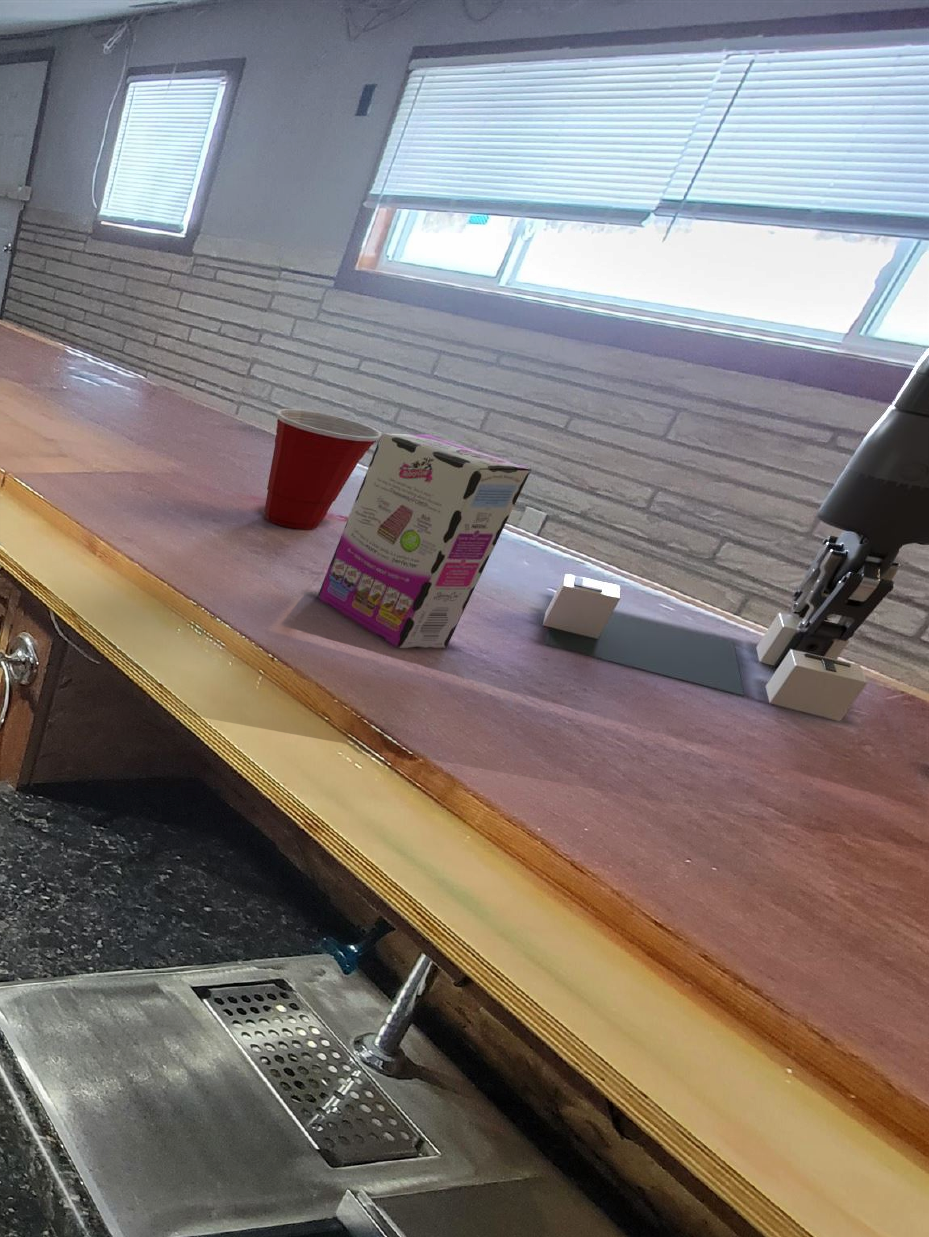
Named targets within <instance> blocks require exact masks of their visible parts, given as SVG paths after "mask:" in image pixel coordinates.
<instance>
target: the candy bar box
mask: <svg viewBox="0 0 929 1237" xmlns="http://www.w3.org/2000/svg"><path fill="white" fill-rule="evenodd" d="M532 470H533V469H531V468H529V467H527V466H523V465H521V464H516V463H514V462H511V461H509V460H506V459H503V458H500V457H498V456H494V455H492V454H488V453H485V452H481V451H479V450H476V449H473V448H469V447H467V446H464V445H461V444H458V443H454V442H451V441H448V440H445V439H442V438H439V437H436V436H433V435H430V434H423V433H422V434H421V433H382V434H381V436H380V439H379V440H378V442H377V444H376V448H375V449H374V451H373V455H372V457H371V459H370V462H369V464H368V466H367V470H366V473H365V475H364V477H363V480H362V482H361V484H360V488H359V490H358V492H357V496H356V498H355V500H354V502H353V505H352V507H351V510H350V513H349V515H348V518H347V521H346V523H345V526H344V528H343V530H342V532H341V535H340V539H339V540H338V544H337V545H336V548H335V551H334V554H333V556H332V559H331V561H330V563H329V566H328V569H327V571H326V572H325V573H326V574H325V576H324V578H323V582H322V584H321V585H320V586H321V587H320V589H319V592H318V594H317V596H316V597H317V598H318V599H320V600H321V601H323V602H324V603H325V604H327V605H329V606H331V607H332V608H334V609H336V610H337V611H339V612H341V614H343V615H345V616H347V617H348V618H350V619H352V620H353V621H355V622H356V623H358V624H360V625H361V626H363V627H365V628H366V629H368V630H370V631H371V632H373V633H374V634H376V635H377V636H379V637H381V638H382V639H383V640H385V641H388V643H390V644H392V645H393V646H394V647H395V646H396V647H397V648H398V649H413V648H414V649H423V648H425V649H429V648H431V649H432V648H435V649H436V648H437V649H438V648H439V649H441V648H447V647H448V645H449V643H450V641H451V640H452V637H453V636H454V632H455V630H456V629H457V627H458V625H459V623H460V620H461V617H462V616H463V613H464V611H465V610H466V608H467V606H468V603H469V602H470V599H471V597H472V595H473V593H474V590H475V588H476V585H477V584H478V583H479V580H480V578H481V576H482V574H483V571H484V570H485V568H486V565H487V563H488V561H489V559H490V556H491V555H492V553H493V551H494V549H495V547H496V545H497V543H498V540H499V538H500V536H501V534H502V532H503V530H504V528H505V526H506V525H507V521H508V520H509V518H510V516H511V513H512V511H513V509H514V507H515V505H516V502H517V501H518V498H519V497H520V494H521V493H522V490H523V488H524V486H525V485H526V482H527V480H528V478H529V475H530V473H531V472H532Z"/></svg>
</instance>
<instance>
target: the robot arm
mask: <svg viewBox="0 0 929 1237" xmlns="http://www.w3.org/2000/svg"><path fill="white" fill-rule="evenodd" d="M816 514H817V518H818V519H819V520H820V521H821V522H822V523H824V524H826V525H828V526H830V527H833V528H834V529H839V530H842V533H840V535H839V536H835V535H828V536H827V537H826V538H824V539H823V541H822V542H821V547H820V549H819V550H818V551H817V553H816V555H815V557H814V559H813V561H812V563H811V564H810V566H809V568H808V570H807V572H805V575H804V577H803V579H802V580H801V582H800V584H799V586H798V588H797V589H796V590H795V591H794V592H793V594H792V601H793V603H792V604H791V606H790V614H791V615H792V616H797V617H801V618H803V620H802V622H800V623H799V624H798V626H797V628H798V629H797V632H796V633H795V635H794V636H793V638H792V639H791V641H790V642H789V644H788V645H787V646H786V648H785V649H784V651H783V652H782V654H781V655H780V657H779V658H778V660H777V661H776V663H775V664H774V665H773V667H774V669H776V670H777V669H778V667H779V666H780V664H781V663H782V661H783V660H784V658H785V657H786V655H787V654H788V652H789V651H790V650H791V649H792V650H797V651H801V652H805V653H810V654H814V655H818V656H822V657H824V656H825V654H826V653H827V651H828V650H829V649H830V647H831V646H832V644H833V643H834V641H837V642H838V641H840V640H842V641H847V640H849V639H851V638H852V637H853V636H854V635H855V632H857V630H858V629H859V628H860V627H861V625H862V624H864V622H865V621H866V620H867V618H868V617H869V616H870V615H871V614H872V613H873V612H874V610H875V609H876V608H877V607H878V605H879V604H881V602H882V601H883V600H884V598H886V596H888V594H889V593H890V592H892V591H893V589H894V587H895V586H894V584H895V581H894V580H893V579H894V578H895V576H896V574H897V573H898V570H899V569H900V567H901V563H900V562H897V561H895V560H896V558H897V556H898V554H899V553H900V549H902V548H903V547H904V546H906V545H910V544H911V545H912V544H916V545H921V546H929V348H928V349H926V351H925V352H924V354H923V355H922V356H921V357H920V359H919V360H918V362H917V363H916V365H915V366H914V368H913V370H912V371H911V372H910V374H909V376H908V377H907V379H906V380H905V382H904V383H903V385H902V386H901V388H900V390H899V391H898V393H897V395H896V396H895V398H894V399H893V401H892V402H891V405H889V407H888V408H887V410H886V411H885V412H884V414H882V416H881V417H880V418H879V419H878V420H877V421H876V423H875V424H874V425H873V426H872V427H871V428H870V430H869V431H868V432H867V434H866V435H865V437H864V438H863V440H862V441H861V443H860V444H859V446H858V447H857V449H856V450H855V452H854V454H853V455H852V457H851V458H850V460H849V461H848V463H847V464H846V466H845V468H844V469H843V471H842V473H841V474H840V476H838V479H837V480H836V482H835V483H834V485H833V487H832V488H831V490H830V491H829V492H828V494H827V496H826V498H825V499H824V500H823V502H822V503H821V505H820V506H819V509H818V510H817V513H816ZM836 616H840V618H839V620H838V622H837V623H836V622H831V621H832V620H833V619H835V618H836Z"/></svg>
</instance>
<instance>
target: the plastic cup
mask: <svg viewBox="0 0 929 1237" xmlns="http://www.w3.org/2000/svg"><path fill="white" fill-rule="evenodd" d="M275 418H276V422H277V423H276V425H277V426H276V430H275V432H276V434H275V437H274V438H275V439H274V448H273V454H272V459H271V465H270V470H269V471H270V472H269V477H268V482H267V489H266V490H267V495H266V499H265V505H264V511H263V512H264V519H266V520H267V521H268V522H270V523H272V524H274V525H278V526H281V527H285V528H290V529H295V530H313V529H316V528H318V527H319V525H320V523H322V522H323V520H324V519H325V517H326V515H327V514H328V512H329V510H330V508H331V506H332V504H333V502H335V501H336V500H337V498H338V496H339V495H340V493H341V491H342V490H343V488H344V487H345V485H346V483H347V481H348V480H349V478H350V477H351V475H352V474H353V472H354V470H355V468H356V467H357V465H358V463H359V461H361V459H363V458H364V456H365V455H366V453H367V452H368V451H369V450H370V449H371V447H372V446H373V445H374V444H375V443H376V442H377V441H379V439H380V436H381V434H383V432H381V431H380V430H378V429H376V428H375V427H373V426H369V425H367V424H364V423H362V422H359V421H355V420H351V419H348V418H346V417H345V418H344V417H341V416H337V415H332V414H328V413H323V412H318V411H312V410H305V409H296V408H294V409H293V408H283V409H282V408H281V409H277V411H276V416H275Z"/></svg>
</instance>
